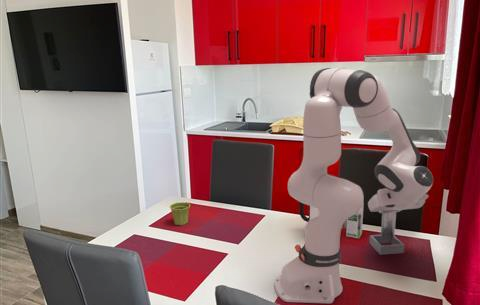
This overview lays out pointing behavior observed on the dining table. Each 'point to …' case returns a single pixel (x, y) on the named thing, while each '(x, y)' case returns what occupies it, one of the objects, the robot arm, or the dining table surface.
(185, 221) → the plant pot
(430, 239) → the dining table surface
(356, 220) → the syrup box
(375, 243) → the socket
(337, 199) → the robot arm
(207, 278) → the dining table surface
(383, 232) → the tube
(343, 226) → the small box
